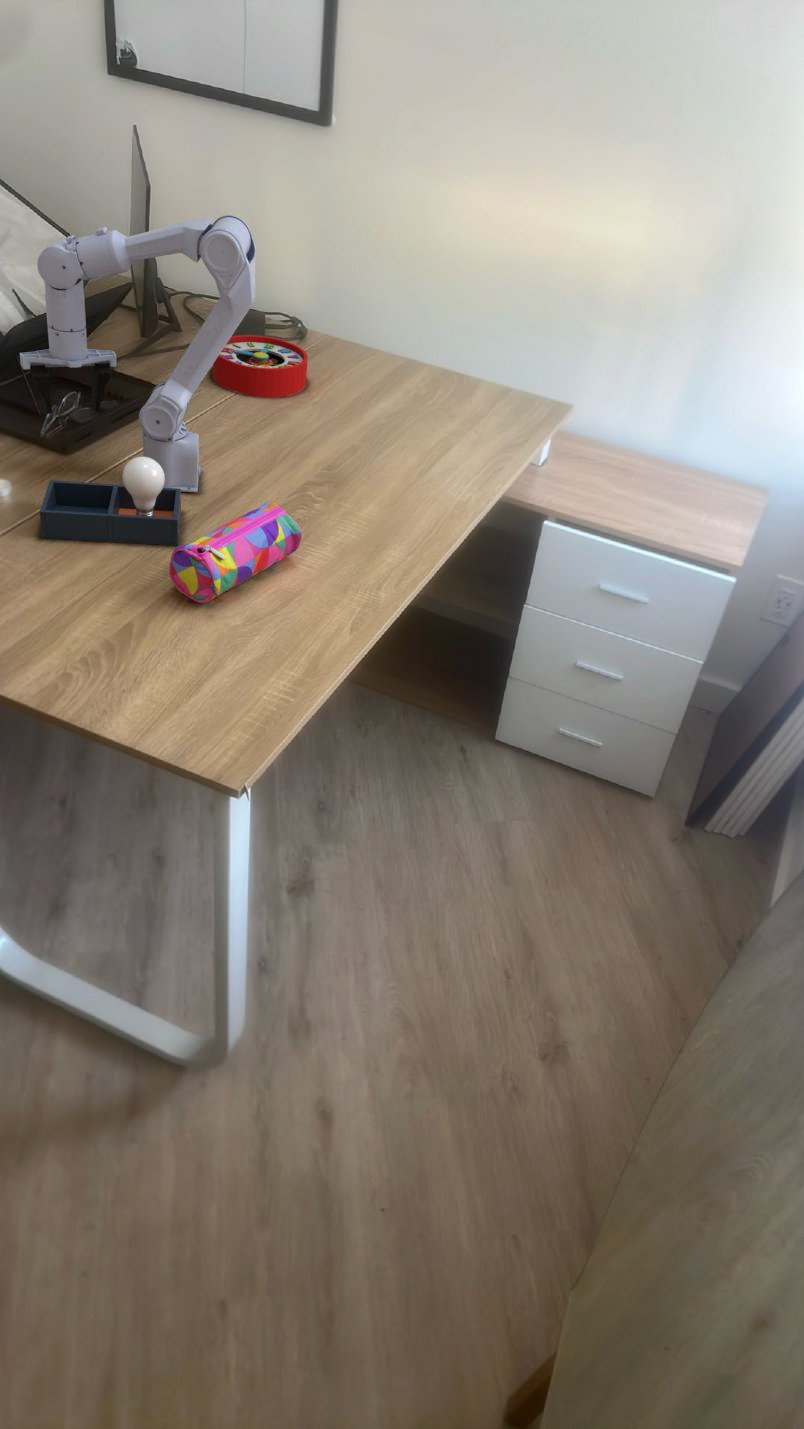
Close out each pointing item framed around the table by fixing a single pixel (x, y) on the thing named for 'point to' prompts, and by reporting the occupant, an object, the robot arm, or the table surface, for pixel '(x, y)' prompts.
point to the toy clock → (261, 366)
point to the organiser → (107, 514)
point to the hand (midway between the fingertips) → (72, 409)
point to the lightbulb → (143, 483)
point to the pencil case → (234, 552)
